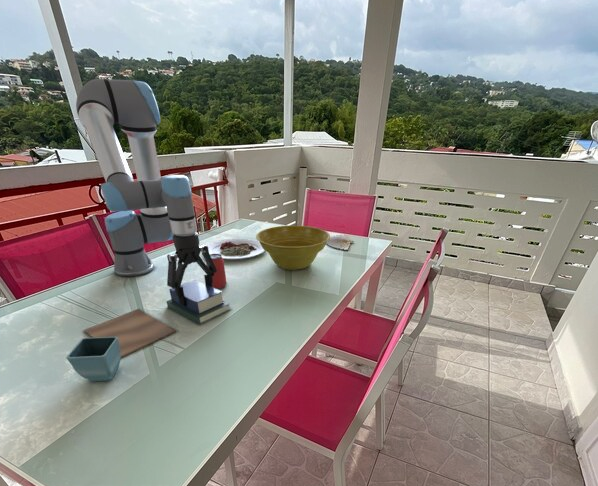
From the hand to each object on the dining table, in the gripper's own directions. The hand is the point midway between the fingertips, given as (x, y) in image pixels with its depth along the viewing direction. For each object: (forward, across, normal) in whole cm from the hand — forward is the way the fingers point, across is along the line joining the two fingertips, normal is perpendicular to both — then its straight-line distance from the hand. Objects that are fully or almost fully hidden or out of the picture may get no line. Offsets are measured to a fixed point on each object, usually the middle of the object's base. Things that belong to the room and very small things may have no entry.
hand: (197, 298), depth 113 cm
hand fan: (+4, +96, +4) cm, 96 cm away
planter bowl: (+4, +54, +2) cm, 54 cm away
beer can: (+4, +17, +10) cm, 20 cm away
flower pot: (+4, -38, -11) cm, 40 cm away
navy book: (+1, 0, 0) cm, 1 cm away
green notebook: (+4, 0, 0) cm, 4 cm away
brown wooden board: (+4, -23, +4) cm, 24 cm away
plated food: (+4, +49, +35) cm, 60 cm away
